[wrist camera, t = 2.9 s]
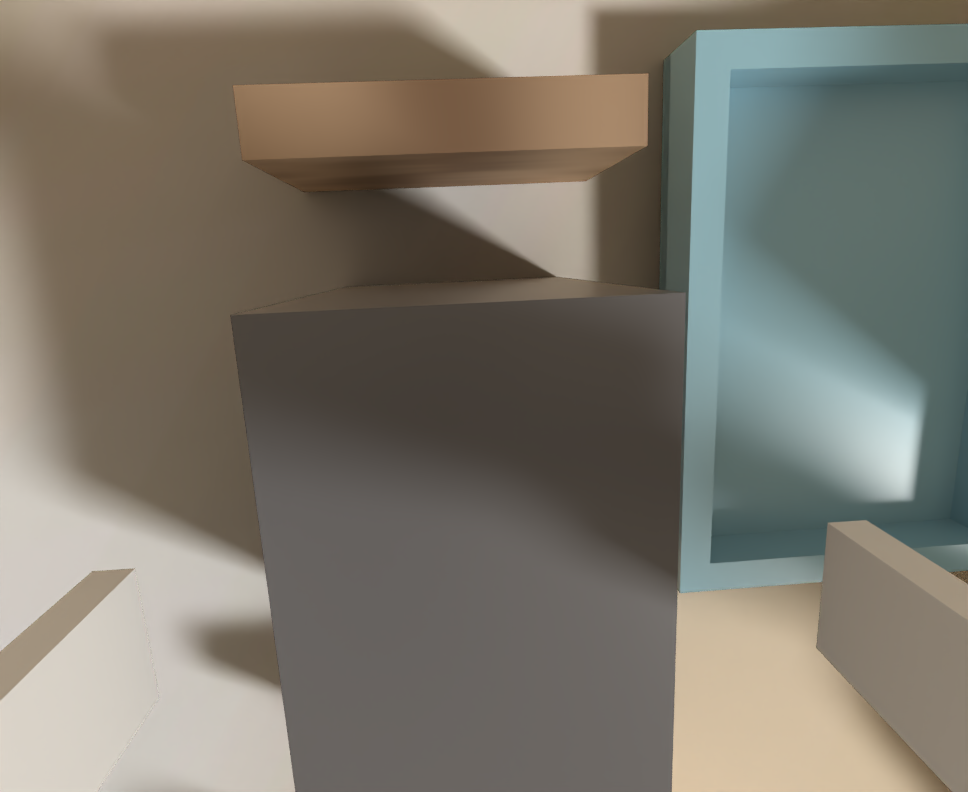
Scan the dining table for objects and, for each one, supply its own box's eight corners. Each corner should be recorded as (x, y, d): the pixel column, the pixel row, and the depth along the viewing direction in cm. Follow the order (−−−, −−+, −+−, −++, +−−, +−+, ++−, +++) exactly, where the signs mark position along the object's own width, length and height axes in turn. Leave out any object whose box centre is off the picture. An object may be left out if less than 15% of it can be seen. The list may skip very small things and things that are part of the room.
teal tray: (654, 557, 23) (680, 593, 20) (663, 60, 19) (696, 30, 16) (958, 534, 23) (1018, 566, 21) (1026, 50, 19) (1109, 20, 17)
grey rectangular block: (376, 613, 22) (315, 935, 12) (345, 286, 20) (230, 315, 9) (561, 599, 23) (668, 898, 12) (556, 276, 20) (685, 292, 9)
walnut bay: (359, 721, 23) (331, 876, 17) (298, 141, 19) (232, 85, 13) (589, 701, 24) (637, 844, 18) (585, 131, 19) (648, 73, 13)
